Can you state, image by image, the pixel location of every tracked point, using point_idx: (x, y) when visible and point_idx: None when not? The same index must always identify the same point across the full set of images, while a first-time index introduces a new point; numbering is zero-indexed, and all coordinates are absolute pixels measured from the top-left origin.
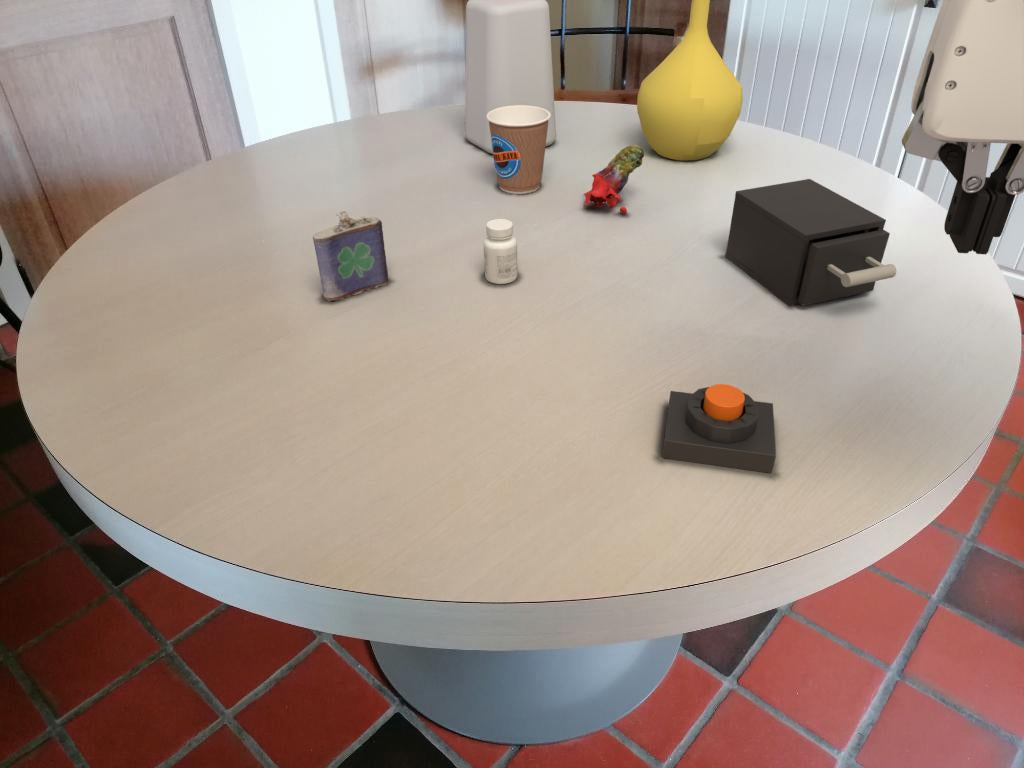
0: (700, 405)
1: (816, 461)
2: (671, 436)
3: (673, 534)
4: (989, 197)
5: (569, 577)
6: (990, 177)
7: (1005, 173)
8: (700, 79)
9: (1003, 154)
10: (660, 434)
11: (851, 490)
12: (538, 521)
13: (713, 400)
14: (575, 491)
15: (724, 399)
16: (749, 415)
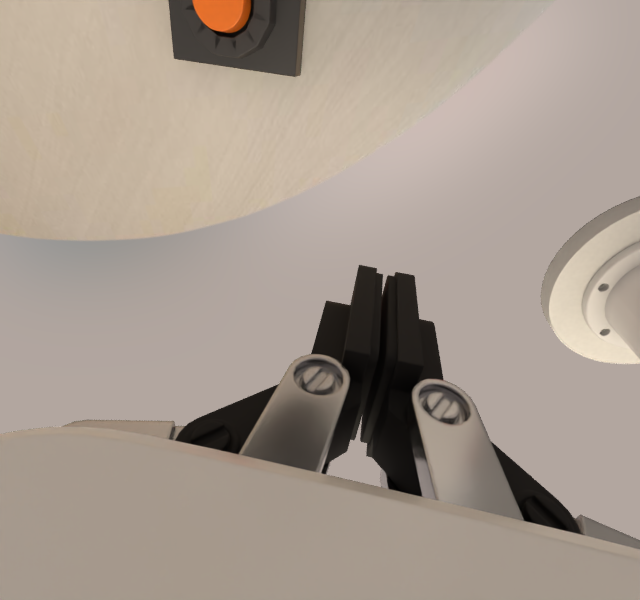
0: None
1: (354, 44)
2: (179, 49)
3: (210, 174)
4: (365, 422)
5: (145, 221)
6: (386, 407)
7: (395, 466)
8: None
9: (418, 457)
10: None
11: (379, 97)
12: (103, 166)
13: (203, 15)
14: (118, 124)
15: (217, 10)
16: (257, 21)
